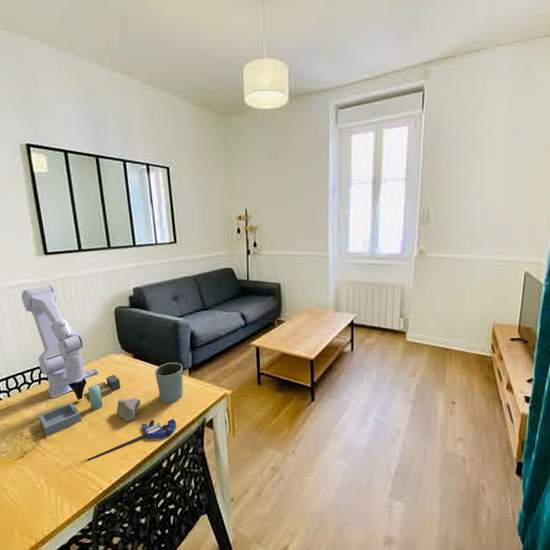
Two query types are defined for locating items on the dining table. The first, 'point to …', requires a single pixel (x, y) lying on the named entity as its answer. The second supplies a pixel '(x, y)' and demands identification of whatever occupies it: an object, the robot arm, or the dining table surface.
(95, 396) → the dowel
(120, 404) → the stone
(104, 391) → the tan cardboard box
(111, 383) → the dark grey block
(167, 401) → the grey green cup
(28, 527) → the dining table surface
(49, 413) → the tray
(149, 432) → the bar clamp
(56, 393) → the robot arm
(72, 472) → the dining table surface
